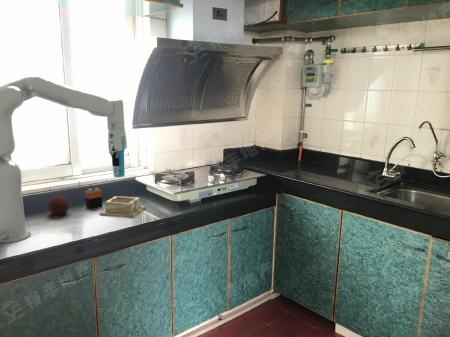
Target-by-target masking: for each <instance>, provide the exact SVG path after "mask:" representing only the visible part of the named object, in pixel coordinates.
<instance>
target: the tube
mask: <svg viewBox="0 0 450 337" xmlns="http://www.w3.org/2000/svg"><path fill="white" fill-rule="evenodd" d="M124 141H125V136H123V138H122V146H123V150H122V151H118V158H119V166H113V165H112V173H113V178H123V177H125V174H126V173H125V150H124ZM113 151H116V150H113ZM114 153H115V154H116V152H114Z"/></svg>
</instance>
